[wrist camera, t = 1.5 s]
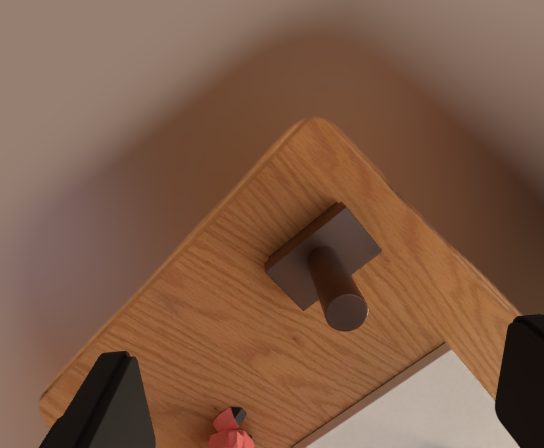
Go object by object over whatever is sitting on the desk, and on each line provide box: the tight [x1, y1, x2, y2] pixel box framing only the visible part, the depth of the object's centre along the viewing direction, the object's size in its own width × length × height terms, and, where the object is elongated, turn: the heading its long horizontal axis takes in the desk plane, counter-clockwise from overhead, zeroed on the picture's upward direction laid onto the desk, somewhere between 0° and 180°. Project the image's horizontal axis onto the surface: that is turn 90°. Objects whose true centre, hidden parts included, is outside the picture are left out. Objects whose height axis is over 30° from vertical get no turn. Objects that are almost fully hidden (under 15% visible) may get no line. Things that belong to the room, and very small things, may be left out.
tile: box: [293, 343, 520, 448], centre depth 35 cm, size 18×16×1 cm
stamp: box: [265, 202, 382, 331], centre depth 24 cm, size 8×4×10 cm, turn 131°
